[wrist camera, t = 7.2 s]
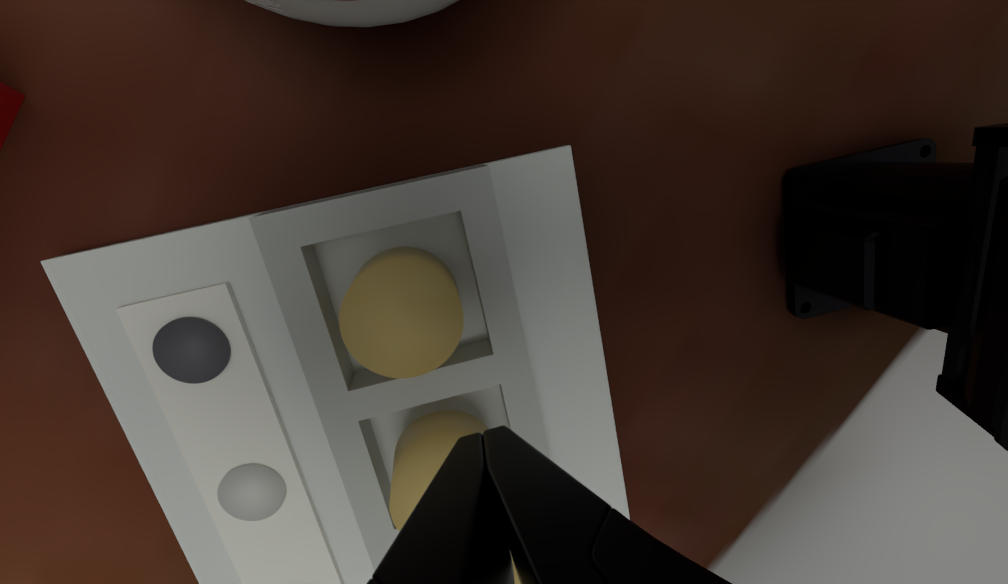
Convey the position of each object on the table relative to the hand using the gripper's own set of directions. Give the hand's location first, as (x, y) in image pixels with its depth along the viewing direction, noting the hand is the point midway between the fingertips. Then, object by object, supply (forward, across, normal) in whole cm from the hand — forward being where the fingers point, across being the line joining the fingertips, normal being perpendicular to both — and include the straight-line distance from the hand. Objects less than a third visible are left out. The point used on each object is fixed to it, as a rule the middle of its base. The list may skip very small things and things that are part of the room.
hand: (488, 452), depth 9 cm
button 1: (+10, +2, 0) cm, 10 cm away
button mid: (+9, +2, +6) cm, 11 cm away
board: (+11, +4, +6) cm, 13 cm away
